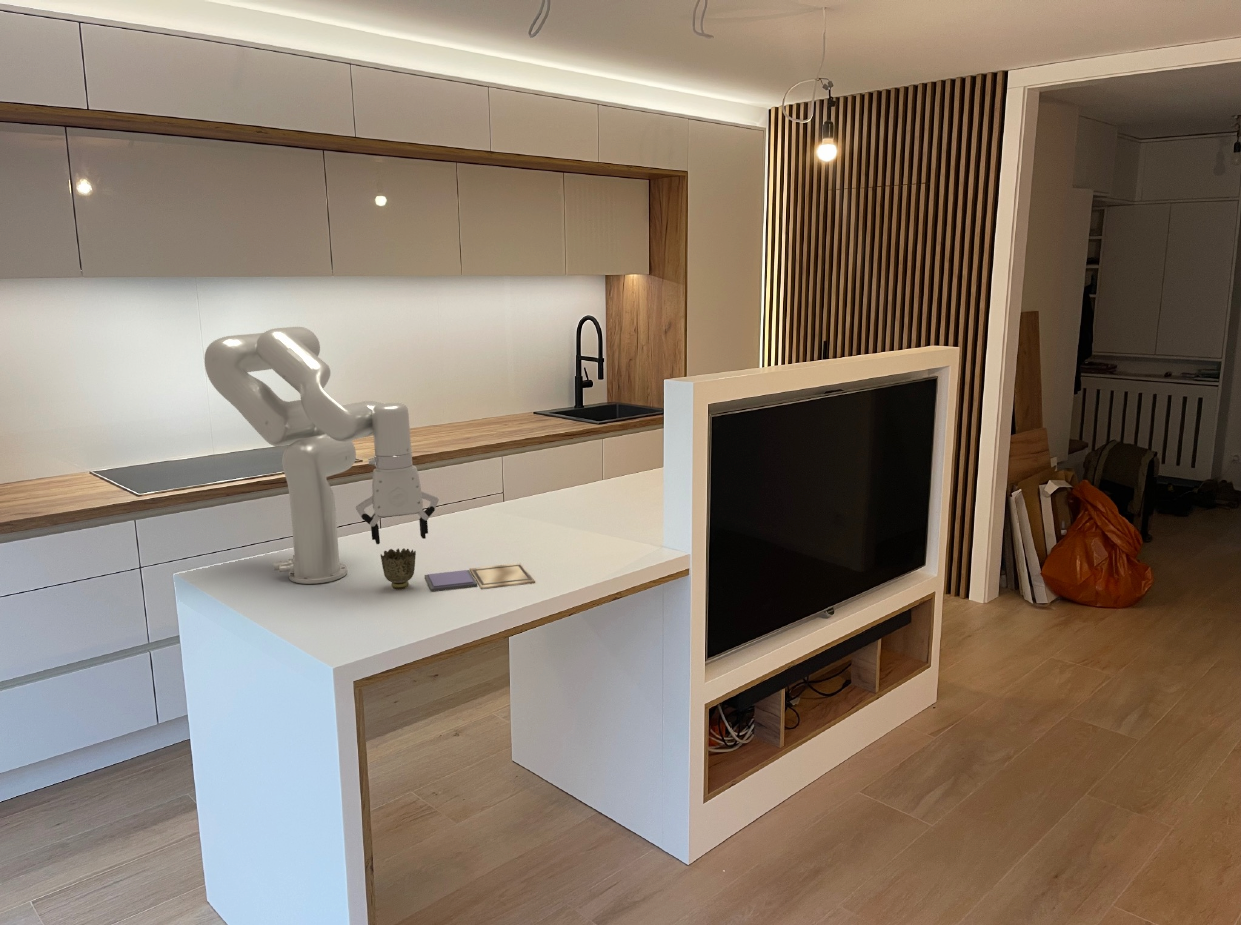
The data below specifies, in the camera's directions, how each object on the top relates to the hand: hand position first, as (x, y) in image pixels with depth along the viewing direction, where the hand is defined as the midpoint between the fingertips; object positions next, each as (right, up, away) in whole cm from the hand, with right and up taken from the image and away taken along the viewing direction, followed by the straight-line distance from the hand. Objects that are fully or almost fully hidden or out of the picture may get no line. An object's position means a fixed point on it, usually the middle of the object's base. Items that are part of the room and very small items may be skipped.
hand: (400, 539), depth 200 cm
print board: (+21, -9, +10) cm, 24 cm away
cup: (-1, -11, +3) cm, 11 cm away
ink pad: (+10, -10, +6) cm, 15 cm away
